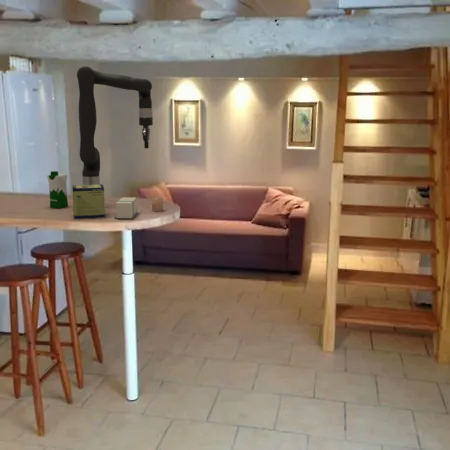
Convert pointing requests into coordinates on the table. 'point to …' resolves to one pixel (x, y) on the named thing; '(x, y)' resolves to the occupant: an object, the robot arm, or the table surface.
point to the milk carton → (57, 190)
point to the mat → (128, 218)
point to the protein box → (88, 201)
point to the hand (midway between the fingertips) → (146, 148)
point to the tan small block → (157, 204)
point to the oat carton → (126, 208)
